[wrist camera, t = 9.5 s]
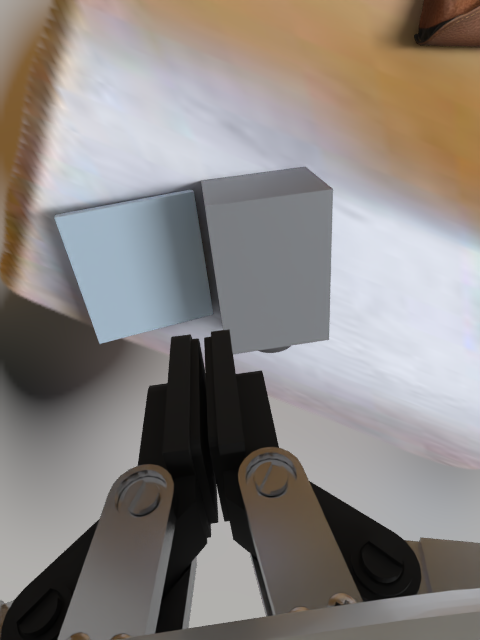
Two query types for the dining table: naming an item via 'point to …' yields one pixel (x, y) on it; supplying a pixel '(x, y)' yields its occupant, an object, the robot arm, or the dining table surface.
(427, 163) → the dining table surface
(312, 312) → the block
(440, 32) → the sunglasses case
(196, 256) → the side door
